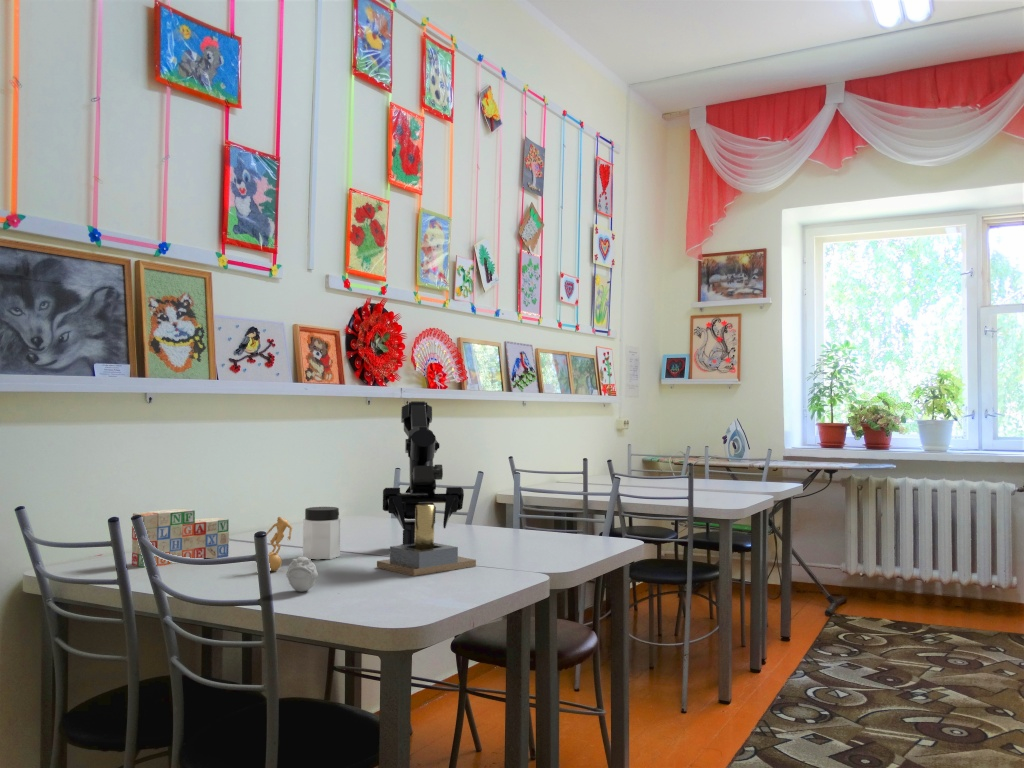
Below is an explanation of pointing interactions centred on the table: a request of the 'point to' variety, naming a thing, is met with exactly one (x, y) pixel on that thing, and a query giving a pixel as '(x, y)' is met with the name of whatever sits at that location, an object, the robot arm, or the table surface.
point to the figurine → (277, 542)
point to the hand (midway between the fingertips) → (424, 527)
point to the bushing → (424, 526)
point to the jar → (321, 533)
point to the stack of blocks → (182, 535)
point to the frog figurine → (301, 574)
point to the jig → (424, 560)
